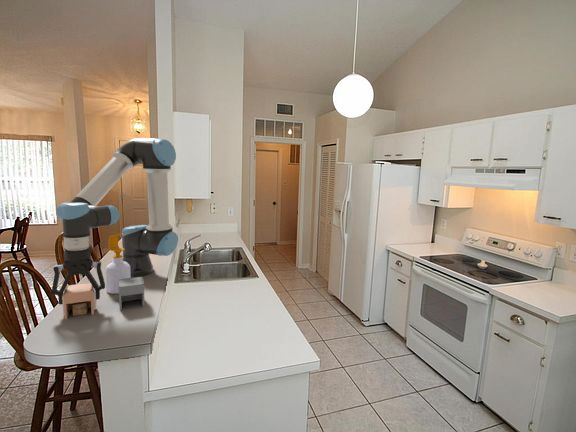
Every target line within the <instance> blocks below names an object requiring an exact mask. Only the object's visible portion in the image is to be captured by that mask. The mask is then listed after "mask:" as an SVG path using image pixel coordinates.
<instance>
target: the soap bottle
mask: <svg viewBox="0 0 576 432" xmlns="http://www.w3.org/2000/svg"><path fill="white" fill-rule="evenodd" d="M122 234H124V233H122V232H121V233H115V234H112V235H109V236H108V238H107V239H108V240H107V241H108V242H107V243H108V245H107V246H108V249H109V251H113V253H114V254H115V255H113V260H112V262H110V263H109V264H108V265H106V268H105V291H106V293H108V294H110V295H111V294H112V295H116V294H118V295H119V279H127V278H132V277H131V273H130V265H129V264H128V263H127V262H125V261H123V254H121V253H123V250H125V249H124V248H123V247H119V236H122Z"/></svg>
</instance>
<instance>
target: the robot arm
mask: <svg viewBox="0 0 576 432" xmlns="http://www.w3.org/2000/svg"><path fill="white" fill-rule="evenodd" d="M176 159H177V153H176V149H175V147H174V145H173V144H172V142H170V141H169V140H167V139H166V138H159V137H158V138H152V137H151V138H148V137H147V138H146V137H145V138H144V137H136V138H133V139H130V140H128V141H126V142H125V143H123V144H122V145H121V146H119V147H118V148H117V149H115V151H114V152H113V153H112V155H111V159H110V160H109V161H108V162H107V163H106V164H105V165H104V166H103V167H102V168H101V169H100V171H98V172H97V173H96V175H95V176H93V178H92V179H91V180H90V181H89V182H88V183H87V184H86V185H85V186H84V187H83V188H82V190H80V191H79V193H77V194H76V196H75V197H74V198H73V199H72V200H71V201H70V202H67V201H66V202H62V203H60V204H59V205H58V206H57V207H56V210H55V215H56V217H57V219H58V220H59V221H61V222H62V230H63V231H62V232H63V233H62V234H63V248H64V250H63V253H64V262H63V263H62V264H55V265H54V267H53V271H54V273H53V274H54V276H53V280H52V281H53V282H52V287H51V293H50V294H51V295H52V296H57V297H58V299H57V301H58V305H62V314H63V315H65V313H64V291H65V289H66V286H67V285H69V282H70V280H71V278H72V276H77V275H84V276H85V277H86V278H87V280H88V281H89V283H91V284H92V286H93V287H94V290H93V300H94V311H95V310H97V300H100V299H101V293H100V292H101V290H104V289H106V281H105V278H104V275H103V271H102V268H101V267H102V261H101V260H100V261H99V260H98V261H93V260H92V254H91V253H92V252H91V251H92V249H91V229H96V228H97V229H98V228H101V227H102V228H103V227H109V226H112V225H115V224H117V223H118V222H119V220H120V211H119V210H118V208H117V207H116V206H114V205H105V204H104V205H98V204H99V203H100V202H101V200H103V199H104V198H105V196H106V195H107V194H108V193H109V192H110V190H111V189H112V188H113V187H114V186H116V184H117V183H118V182H119V180H120V179H121V178H122V177H123V176H124V174H126V173H127V172H128V171H130V170H132V169H134V167H135V166H138V165H142V169H143V170H144V172H145V173H146V178H147V180H146V181H147V203H148V204H147V206H148V224H138V225H130V226H125V227H124V228H122V232H121V233H124V234H121V240H122V242H121V243H122V246H121V247H122V248H124V249H125V250H123V251H122V259H123V261H125V262H127V263H128V264H129V265H130V273H131V278H136V277H143V276H146V275H149V274H152V273H153V272H154V266H153V265H154V264H153V263H152V260H151V257H150V255H154V256H155V255H156V256H158V257H159V256H160V257H163V256H164V257H165V256H166V257H168V256H171V255H172V254H173V253H174V252H175V250H176V249H177V246H178V244H179V243H178V242H179V237H178V234H177V233H176V232H174V231H173V225H171V224H170V217H169V216H170V214H169V189H168V188H169V186H168V184H169V183H168V182H169V181H168V173H169V172H170V170H171V166H173V165H175V163H176V162H175V161H176ZM92 266H93V268H94V269H96V275H97V277H98V281H99V284H98V282H97V281H96V279H95V277H94V276H93V274H92V272H91V271H90V268H91V267H92ZM63 269H65V271H66V272H67V275H66V276H65V279H64V281H63V282H62V285H61V287H60V289H58V285H59V281H60V276H61V275H60V274H61V272H62V270H63Z"/></svg>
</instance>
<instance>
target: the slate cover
mask: <svg viewBox="0 0 576 432" xmlns="http://www.w3.org/2000/svg"><path fill="white" fill-rule="evenodd" d="M118 296H119V297H118V298H119V300H118V302H119V311H122V309H123V308H122V306H123V305H122V303H123V302H130V301H136V300H141V301H140V302H141V305H142V308H143V307H145V282H144V278H143V276H136V277H131V278H127V279H119V294H118Z"/></svg>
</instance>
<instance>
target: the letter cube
mask: <svg viewBox="0 0 576 432" xmlns="http://www.w3.org/2000/svg"><path fill="white" fill-rule="evenodd" d="M72 306H73V309H72V316H80V315H85V314H86V315H87V314H88V311H89V310H88V309H89V307H88V304H87V301H85V302H78V303H73V305H72Z"/></svg>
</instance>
